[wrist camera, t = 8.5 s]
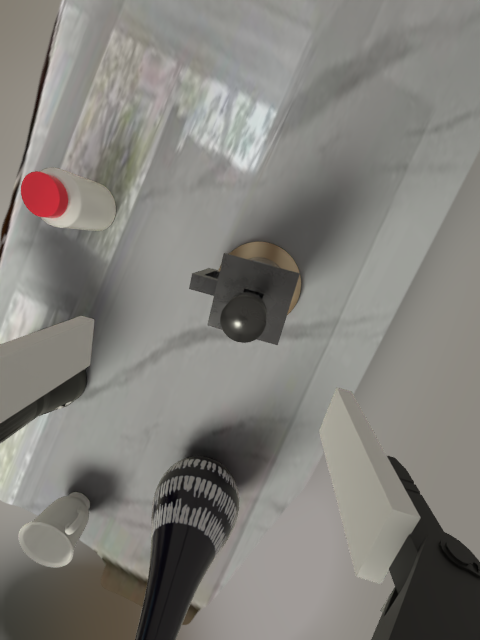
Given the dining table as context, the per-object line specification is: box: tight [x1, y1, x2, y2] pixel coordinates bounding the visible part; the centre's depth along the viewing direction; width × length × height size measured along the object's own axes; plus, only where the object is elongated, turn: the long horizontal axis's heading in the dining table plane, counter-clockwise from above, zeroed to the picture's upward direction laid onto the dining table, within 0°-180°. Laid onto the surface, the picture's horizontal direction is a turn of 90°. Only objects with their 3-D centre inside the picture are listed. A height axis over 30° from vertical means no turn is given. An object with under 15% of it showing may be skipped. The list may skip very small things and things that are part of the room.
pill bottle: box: [21, 168, 116, 231], centre depth 40 cm, size 8×8×11 cm
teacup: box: [19, 492, 90, 567], centre depth 59 cm, size 12×15×10 cm
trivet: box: [219, 242, 301, 315], centre depth 45 cm, size 14×14×1 cm
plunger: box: [220, 289, 267, 343], centre depth 32 cm, size 7×7×19 cm
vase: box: [135, 456, 239, 640], centre depth 43 cm, size 16×16×30 cm
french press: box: [189, 253, 300, 345], centre depth 38 cm, size 13×9×13 cm
